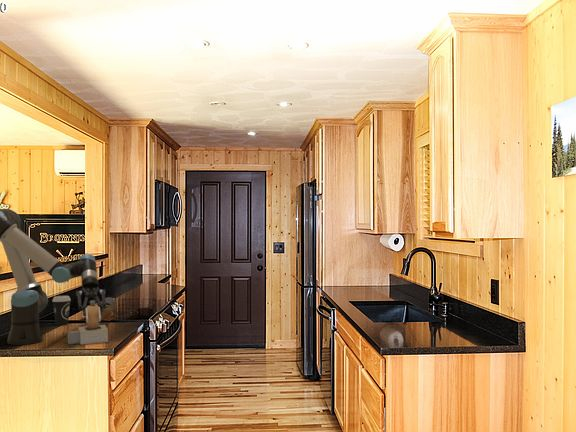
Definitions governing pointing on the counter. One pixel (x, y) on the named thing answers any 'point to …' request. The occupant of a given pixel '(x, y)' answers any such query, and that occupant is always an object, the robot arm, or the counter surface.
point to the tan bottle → (92, 315)
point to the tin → (109, 313)
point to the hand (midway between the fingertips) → (93, 320)
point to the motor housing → (88, 335)
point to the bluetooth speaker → (110, 301)
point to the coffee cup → (61, 309)
